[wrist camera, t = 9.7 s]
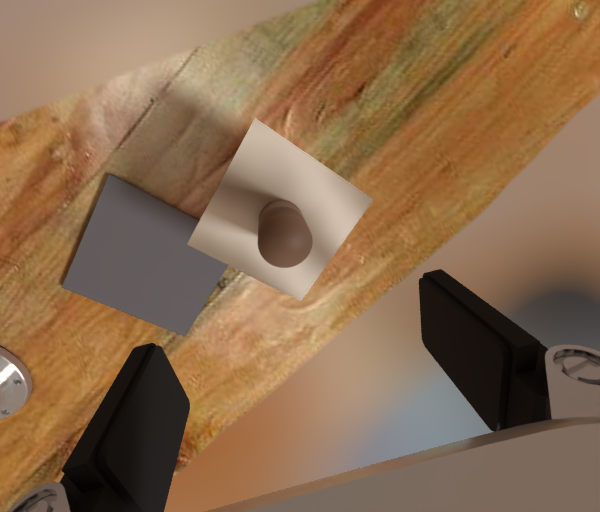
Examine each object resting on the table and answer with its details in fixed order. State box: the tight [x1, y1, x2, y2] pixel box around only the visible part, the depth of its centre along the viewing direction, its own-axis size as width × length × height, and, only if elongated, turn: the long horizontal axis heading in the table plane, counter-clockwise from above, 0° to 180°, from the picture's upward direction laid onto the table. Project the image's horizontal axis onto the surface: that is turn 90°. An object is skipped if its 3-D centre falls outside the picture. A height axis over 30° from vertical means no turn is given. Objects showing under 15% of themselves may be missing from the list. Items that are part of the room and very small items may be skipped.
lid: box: [187, 118, 373, 301], centre depth 22 cm, size 11×11×6 cm
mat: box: [62, 174, 228, 336], centre depth 32 cm, size 14×14×1 cm
